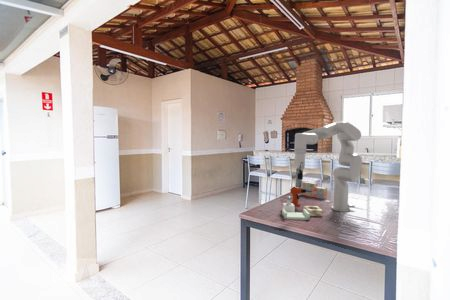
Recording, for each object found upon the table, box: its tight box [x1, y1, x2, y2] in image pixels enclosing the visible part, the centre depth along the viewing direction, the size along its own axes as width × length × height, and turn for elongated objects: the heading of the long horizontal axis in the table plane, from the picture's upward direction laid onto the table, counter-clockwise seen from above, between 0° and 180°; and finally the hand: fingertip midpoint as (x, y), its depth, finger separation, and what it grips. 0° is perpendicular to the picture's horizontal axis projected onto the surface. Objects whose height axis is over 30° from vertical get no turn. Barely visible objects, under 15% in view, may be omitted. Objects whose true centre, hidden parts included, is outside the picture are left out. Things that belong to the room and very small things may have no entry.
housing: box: [282, 202, 296, 212], centre depth 165 cm, size 7×7×5 cm
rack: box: [281, 208, 311, 221], centre depth 153 cm, size 16×10×4 cm, turn 86°
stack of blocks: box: [301, 180, 328, 200], centre depth 209 cm, size 21×6×12 cm, turn 40°
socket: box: [303, 205, 324, 217], centre depth 160 cm, size 10×10×4 cm
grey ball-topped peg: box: [285, 195, 293, 205], centre depth 165 cm, size 4×4×10 cm
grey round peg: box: [294, 169, 303, 189], centre depth 153 cm, size 4×4×11 cm
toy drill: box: [289, 186, 312, 207], centre depth 177 cm, size 5×19×15 cm, turn 42°
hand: (299, 178), depth 153 cm, fingers closed on grey round peg, 4 cm apart
